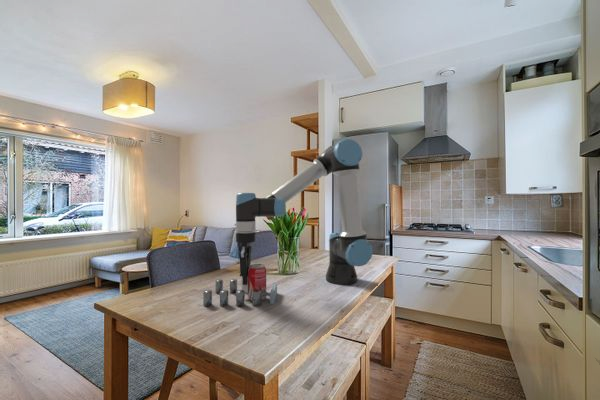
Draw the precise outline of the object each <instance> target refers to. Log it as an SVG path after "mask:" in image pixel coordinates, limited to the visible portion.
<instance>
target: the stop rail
mask: <svg viewBox="0 0 600 400" xmlns="http://www.w3.org/2000/svg"><path fill="white" fill-rule="evenodd" d="M277 294H278V283H273V284H272V286H271V289H270V291H269V305H274V304H275V302H276V297H277Z"/></svg>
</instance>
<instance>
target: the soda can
mask: <svg viewBox="0 0 600 400" xmlns="http://www.w3.org/2000/svg"><path fill="white" fill-rule="evenodd" d="M254 290H260V291H261V302H262V301H264V300H266V298H267V269H266V265H265V264H262V263H253V264H252V263H251V265H250V266H249V269H248V294H247V298H248V300H249V301H251V302H253V291H254Z"/></svg>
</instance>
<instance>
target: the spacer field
mask: <svg viewBox="0 0 600 400" xmlns="http://www.w3.org/2000/svg"><path fill="white" fill-rule="evenodd" d="M214 282H215V285H214V287H215V290H214V291H215V294H219V306H220V307H224V308H225V307H227V306H229V293H230V294H235V302H236V303H235V305H236V307H238V308H239V307H244V306H245V302H246V301H245V297H246V296H245V294H247V295H248V293H245V291H244V290H242V289H239V290H238V279H234V278H233V279H230V280H229V290H228V289H224V280H223V279H220V278H219V279H215V281H214ZM202 296H203V297H202V299H203V302H202V303H203V304H202V305H203V307H206V308H207V307H211V306H212V305H213V290H212V289H207V290H203V295H202ZM261 305H262V301H261V291H260V290H254V291H253V301H252V306H253V307H256V308H257V307H260V306H261Z"/></svg>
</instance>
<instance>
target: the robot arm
mask: <svg viewBox="0 0 600 400" xmlns="http://www.w3.org/2000/svg"><path fill="white" fill-rule="evenodd" d="M362 159H363V149H362V146H361V145H360V144H359V143H358V141H356V140H354V139H351V138H345V139H342V140H339V141H337V142H336V143H334V144H332V145H330V146H329V147H327V148H326V149H325V150H324V151H323V152H322V153H321V154H320V155H318V156H317V157H316V158H314V159H313V162H312V163H311V164H310V165H309V166H307V167H305V168H304V169H303V170H301V171H300V172H298V173H297V174H296V175H294V176H293V177H291V178H290V179H289V180H288V181H286V182H285V183H283V184H282V185H280V186H279V187H277V188H276V189H274V190H273V191H272V192H271V193H269V194H268V195H267V196H266V197H264V198H263V197H262V198H261V197H257V196H256V193H254V192H238V193H237V194H236V200H235V223H234V226H235V231H236V233H235V242H236V243H238V244H240V247H239V252H238V256H239V273H240V274H239V277H241V290H244V291H245V294H247V293H248V269H249V266H250V265H252V263H251V262H252V261H251V260H252V258H251V257H252V249H253V248H252V246H251V243H255V242H256V232H255V231H256V223H257V222H256V218H257V217H259V218H260V217H269V218H270V217H271V218H274V217H275V218H277V217H278V218H279V217H284V216H285V214H286V210H287V207H286V206H287V205H286V204H287V202H289V201H290V200H292V199H293V198H294V197H296V196H297V195H299V194H300V193H302V192H303V191H304V190H306V189H307V188H308V187H310V186H311V185H312V184H314V183H315V182H317V181H318V180H320V178H322V177H327V176H328V175H330V174H331V173H332V174H333V175H334V176H335V177H336V184H337V185H336V187H337V194H338V204H339V213H340V222H341V223H340V224H341V231H340V232H331V233H330V234H329V240H328V242H329V243H328V245H329V246H328V247H329V248H328V249H329V250H328V252H329V257H328V258H329V264H328V267H327V269H326V273H325V281H327V282H329V283H330V284H335V285H352V284H355V283H356V284H357V282H358V275H357V270H356V268H355V267H363V266H365V265H367V264H368V263H369V262H370V260H371V259H372V257H373V253H374V252H373V250H374V249H373V246H372V244H371V242H369V241H368V239H367V232H366V231H365V230H363V225H362V218H361V217H362V216H361V206H360V197H359V188H358V177H357V175H358V172H359V171H360V162H361V160H362Z"/></svg>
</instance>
